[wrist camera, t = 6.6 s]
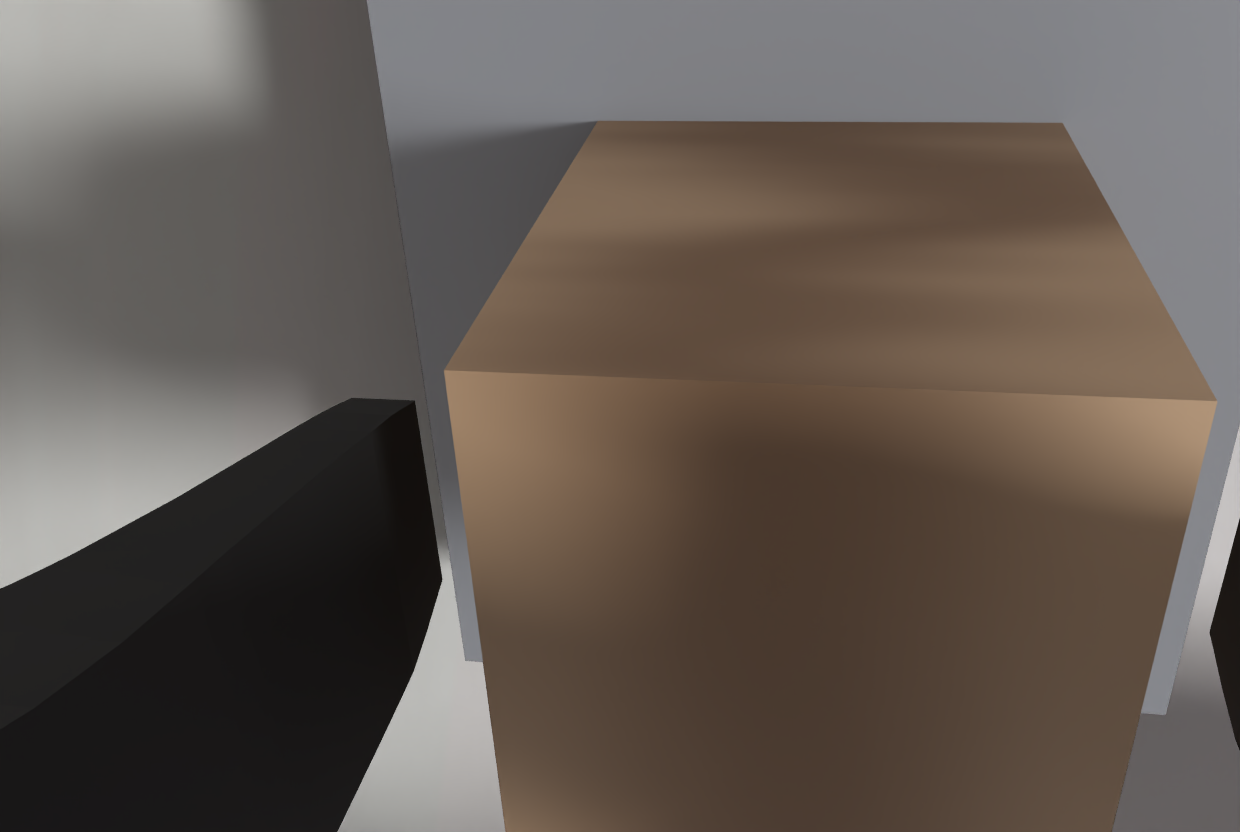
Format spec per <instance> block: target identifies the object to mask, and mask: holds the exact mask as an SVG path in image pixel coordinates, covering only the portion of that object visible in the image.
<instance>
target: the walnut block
mask: <svg viewBox="0 0 1240 832" xmlns="http://www.w3.org/2000/svg"><path fill="white" fill-rule="evenodd" d="M444 375H445V382H446V389H447V397H448V404H449V412H450V419H451V427H452V434H453V442H454V449H455V457H456V464H457V472H458V479H459V487H460V494H461V502H462V509H463V517H464V524H465V532H466V539H467V547H468V554H469V561H470V569H471V576H472V584H473V591H474V599H475V606H476V614H477V621H478V629H479V636H480V644H481V651H482V659H483V666H484V674H485V681H486V689H487V696H488V704H489V711H490V719H491V726H492V733H493V741H494V748H495V756H496V763H497V771H498V778H499V786H500V793H501V801H502V808H503V816H504V823H505V831H506V832H1112V828H1113V824H1114V820H1115V816H1116V812H1117V808H1118V804H1119V800H1120V795H1121V791H1122V787H1123V783H1124V779H1125V775H1126V771H1127V767H1128V763H1129V759H1130V755H1131V751H1132V747H1133V743H1134V739H1135V735H1136V730H1137V726H1138V722H1139V718H1140V714H1141V710H1142V706H1143V702H1144V698H1145V694H1146V690H1147V686H1148V682H1149V678H1150V674H1151V670H1152V665H1153V661H1154V657H1155V653H1156V649H1157V645H1158V641H1159V637H1160V633H1161V629H1162V625H1163V621H1164V617H1165V613H1166V609H1167V605H1168V600H1169V596H1170V592H1171V588H1172V584H1173V580H1174V576H1175V572H1176V568H1177V564H1178V560H1179V556H1180V552H1181V548H1182V544H1183V539H1184V535H1185V531H1186V527H1187V523H1188V519H1189V515H1190V511H1191V507H1192V503H1193V499H1194V495H1195V491H1196V487H1197V483H1198V479H1199V474H1200V470H1201V466H1202V462H1203V458H1204V454H1205V450H1206V446H1207V442H1208V438H1209V434H1210V430H1211V426H1212V422H1213V418H1214V414H1215V409H1216V405H1217V399H1216V398H1215V396H1214V394H1213V392H1212V390H1211V389H1210V387H1209V385H1208V383H1207V381H1206V380H1205V378H1204V376H1203V374H1202V373H1201V371H1200V369H1199V367H1198V365H1197V364H1196V362H1195V360H1194V358H1193V356H1192V355H1191V353H1190V351H1189V349H1188V347H1187V346H1186V344H1185V342H1184V340H1183V338H1182V337H1181V335H1180V333H1179V331H1178V329H1177V328H1176V326H1175V324H1174V322H1173V320H1172V319H1171V317H1170V315H1169V313H1168V311H1167V310H1166V308H1165V306H1164V304H1163V302H1162V301H1161V299H1160V297H1159V295H1158V293H1157V292H1156V290H1155V288H1154V286H1153V284H1152V283H1151V281H1150V279H1149V277H1148V275H1147V274H1146V272H1145V270H1144V268H1143V266H1142V265H1141V263H1140V261H1139V259H1138V257H1137V256H1136V254H1135V252H1134V250H1133V248H1132V247H1131V245H1130V243H1129V241H1128V239H1127V238H1126V236H1125V234H1124V232H1123V230H1122V229H1121V227H1120V225H1119V223H1118V221H1117V220H1116V218H1115V216H1114V214H1113V212H1112V211H1111V209H1110V207H1109V205H1108V204H1107V202H1106V200H1105V198H1104V196H1103V195H1102V193H1101V191H1100V189H1099V187H1098V186H1097V184H1096V182H1095V180H1094V178H1093V177H1092V175H1091V173H1090V171H1089V169H1088V168H1087V166H1086V164H1085V162H1084V160H1083V159H1082V157H1081V155H1080V153H1079V151H1078V150H1077V148H1076V146H1075V144H1074V142H1073V141H1072V139H1071V137H1070V135H1069V133H1068V132H1067V130H1066V128H1065V126H1064V124H1063V123H1004V122H773V121H598V122H597V123H596V125H595V126H594V128H593V130H592V131H591V133H590V135H589V136H588V138H587V139H586V141H585V143H584V144H583V146H582V147H581V149H580V151H579V152H578V154H577V156H576V157H575V159H574V160H573V162H572V164H571V165H570V167H569V169H568V170H567V172H566V173H565V175H564V177H563V178H562V180H561V181H560V183H559V185H558V186H557V188H556V190H555V191H554V193H553V194H552V196H551V198H550V199H549V201H548V203H547V204H546V206H545V207H544V209H543V211H542V212H541V214H540V215H539V217H538V219H537V220H536V222H535V224H534V225H533V227H532V228H531V230H530V232H529V233H528V235H527V237H526V238H525V240H524V241H523V243H522V245H521V246H520V248H519V250H518V251H517V253H516V254H515V256H514V258H513V259H512V261H511V262H510V264H509V266H508V267H507V269H506V271H505V272H504V274H503V275H502V277H501V279H500V280H499V282H498V284H497V285H496V287H495V288H494V290H493V292H492V293H491V295H490V296H489V298H488V300H487V301H486V303H485V305H484V306H483V308H482V309H481V311H480V313H479V314H478V316H477V318H476V319H475V321H474V322H473V324H472V326H471V327H470V329H469V330H468V332H467V334H466V335H465V337H464V339H463V340H462V342H461V343H460V345H459V347H458V348H457V350H456V352H455V353H454V355H453V356H452V358H451V360H450V361H449V363H448V365H447V366H446V368H445V369H444Z"/></svg>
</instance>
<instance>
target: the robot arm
mask: <svg viewBox="0 0 1240 832" xmlns="http://www.w3.org/2000/svg"><path fill="white" fill-rule="evenodd" d="M441 582H442V574H441V567H440V561H439V554H438V548H437V541H436V535H435V528H434V522H433V516H432V509H431V503H430V496H429V490H428V483H427V477H426V470H425V464H424V457H423V451H422V444H421V438H420V431H419V425H418V418H417V412H416V405H415V401H410V400H386V399H363V398H351V399H349V400H347V401H345V402H342V403H340V404H338V405H336V406H334V407H332V408H330V409H328V410H326V411H324V412H322V413H320V414H318V415H317V416H315V417H313V418H311V419H309V420H308V421H306V422H304V423H302V424H301V425H299V426H297V427H295V428H294V429H292V430H290V431H289V432H287V433H285V434H284V435H282V436H280V437H278V438H277V439H275V440H273V441H272V442H270V443H268V444H267V445H265V446H263V447H262V448H260V449H258V450H257V451H255V452H253V453H252V454H250V455H248V456H247V457H245V458H243V459H241V460H240V461H238V462H236V463H235V464H233V465H231V466H230V467H228V468H226V469H225V470H223V471H221V472H220V473H218V474H216V475H214V476H213V477H211V478H209V479H208V480H206V481H204V482H203V483H201V484H199V485H198V486H196V487H194V488H192V489H191V490H189V491H187V492H186V493H184V494H182V495H181V496H179V497H177V498H175V499H174V500H172V501H170V502H168V503H166V504H164V505H163V506H161V507H159V508H157V509H155V510H153V511H151V512H150V513H148V514H146V515H144V516H142V517H140V518H139V519H137V520H135V521H133V522H131V523H129V524H127V525H126V526H124V527H122V528H120V529H118V530H116V531H115V532H113V533H111V534H109V535H107V536H105V537H104V538H102V539H100V540H98V541H96V542H94V543H92V544H91V545H89V546H87V547H85V548H83V549H81V550H80V551H78V552H76V553H74V554H72V555H70V556H68V557H66V558H64V559H62V560H60V561H58V562H56V563H54V564H52V565H50V566H48V567H46V568H44V569H42V570H40V571H37V572H35V573H33V574H31V575H29V576H27V577H25V578H23V579H21V580H19V581H17V582H14V583H12V584H10V585H8V586H5V587H3V588H1V589H0V832H337V831H338V829H339V827H340V825H341V823H342V821H343V819H344V817H345V815H346V813H347V810H348V808H349V806H350V804H351V802H352V800H353V798H354V796H355V794H356V792H357V790H358V788H359V786H360V784H361V782H362V779H363V777H364V775H365V773H366V771H367V769H368V767H369V765H370V763H371V761H372V759H373V757H374V755H375V753H376V751H377V748H378V746H379V744H380V742H381V740H382V738H383V736H384V734H385V732H386V729H387V727H388V725H389V723H390V721H391V719H392V717H393V715H394V713H395V710H396V708H397V706H398V704H399V702H400V700H401V698H402V696H403V693H404V691H405V689H406V687H407V685H408V682H409V680H410V678H411V676H412V674H413V672H414V669H415V666H416V663H417V660H418V657H419V654H420V651H421V648H422V645H423V642H424V639H425V636H426V633H427V629H428V626H429V623H430V619H431V616H432V613H433V609H434V606H435V603H436V599H437V596H438V592H439V589H440V586H441ZM1210 636H1211V640H1212V645H1213V649H1214V654H1215V658H1216V663H1217V667H1218V672H1219V676H1220V680H1221V685H1222V689H1223V693H1224V697H1225V701H1226V705H1227V709H1228V713H1229V716H1230V720H1231V724H1232V728H1233V732H1234V736H1235V739H1236V742H1237V744H1238V747H1239V750H1240V519H1239V523H1238V527H1237V531H1236V535H1235V538H1234V542H1233V546H1232V550H1231V553H1230V557H1229V561H1228V565H1227V568H1226V572H1225V576H1224V580H1223V583H1222V587H1221V591H1220V595H1219V599H1218V602H1217V606H1216V610H1215V614H1214V617H1213V621H1212V625H1211V629H1210Z"/></svg>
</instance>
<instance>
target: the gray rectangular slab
mask: <svg viewBox="0 0 1240 832" xmlns="http://www.w3.org/2000/svg"><path fill="white" fill-rule="evenodd" d="M367 6H368V13H369V19H370V26H371V33H372V39H373V46H374V53H375V59H376V66H377V73H378V79H379V86H380V93H381V100H382V106H383V113H384V120H385V126H386V133H387V140H388V146H389V153H390V160H391V166H392V173H393V180H394V187H395V193H396V200H397V207H398V213H399V220H400V227H401V233H402V240H403V247H404V253H405V260H406V267H407V274H408V280H409V287H410V294H411V300H412V307H413V314H414V320H415V327H416V334H417V341H418V347H419V354H420V361H421V367H422V374H423V381H424V387H425V394H426V401H427V407H428V414H429V421H430V428H431V434H432V441H433V448H434V454H435V461H436V468H437V474H438V481H439V488H440V494H441V501H442V508H443V515H444V521H445V528H446V535H447V541H448V548H449V555H450V561H451V568H452V575H453V581H454V588H455V595H456V602H457V608H458V615H459V622H460V628H461V635H462V642H463V648H464V655H465V661H475V662H483V659H482V651H481V644H480V636H479V629H478V621H477V614H476V606H475V599H474V591H473V584H472V576H471V569H470V561H469V554H468V547H467V539H466V532H465V524H464V517H463V509H462V502H461V494H460V487H459V479H458V472H457V464H456V457H455V449H454V442H453V434H452V427H451V419H450V412H449V404H448V397H447V389H446V382H445V375H444V369H445V368H446V366H447V365H448V363H449V361H450V360H451V358H452V356H453V355H454V353H455V352H456V350H457V348H458V347H459V345H460V343H461V342H462V340H463V339H464V337H465V335H466V334H467V332H468V330H469V329H470V327H471V326H472V324H473V322H474V321H475V319H476V318H477V316H478V314H479V313H480V311H481V309H482V308H483V306H484V305H485V303H486V301H487V300H488V298H489V296H490V295H491V293H492V292H493V290H494V288H495V287H496V285H497V284H498V282H499V280H500V279H501V277H502V275H503V274H504V272H505V271H506V269H507V267H508V266H509V264H510V262H511V261H512V259H513V258H514V256H515V254H516V253H517V251H518V250H519V248H520V246H521V245H522V243H523V241H524V240H525V238H526V237H527V235H528V233H529V232H530V230H531V228H532V227H533V225H534V224H535V222H536V220H537V219H538V217H539V215H540V214H541V212H542V211H543V209H544V207H545V206H546V204H547V203H548V201H549V199H550V198H551V196H552V194H553V193H554V191H555V190H556V188H557V186H558V185H559V183H560V181H561V180H562V178H563V177H564V175H565V173H566V172H567V170H568V169H569V167H570V165H571V164H572V162H573V160H574V159H575V157H576V156H577V154H578V152H579V151H580V149H581V147H582V146H583V144H584V143H585V141H586V139H587V138H588V136H589V135H590V133H591V131H592V130H593V128H594V126H595V125H596V123H597V122H598V121H773V122H1004V123H1063V124H1064V126H1065V128H1066V130H1067V132H1068V133H1069V135H1070V137H1071V139H1072V141H1073V142H1074V144H1075V146H1076V148H1077V150H1078V151H1079V153H1080V155H1081V157H1082V159H1083V160H1084V162H1085V164H1086V166H1087V168H1088V169H1089V171H1090V173H1091V175H1092V177H1093V178H1094V180H1095V182H1096V184H1097V186H1098V187H1099V189H1100V191H1101V193H1102V195H1103V196H1104V198H1105V200H1106V202H1107V204H1108V205H1109V207H1110V209H1111V211H1112V212H1113V214H1114V216H1115V218H1116V220H1117V221H1118V223H1119V225H1120V227H1121V229H1122V230H1123V232H1124V234H1125V236H1126V238H1127V239H1128V241H1129V243H1130V245H1131V247H1132V248H1133V250H1134V252H1135V254H1136V256H1137V257H1138V259H1139V261H1140V263H1141V265H1142V266H1143V268H1144V270H1145V272H1146V274H1147V275H1148V277H1149V279H1150V281H1151V283H1152V284H1153V286H1154V288H1155V290H1156V292H1157V293H1158V295H1159V297H1160V299H1161V301H1162V302H1163V304H1164V306H1165V308H1166V310H1167V311H1168V313H1169V315H1170V317H1171V319H1172V320H1173V322H1174V324H1175V326H1176V328H1177V329H1178V331H1179V333H1180V335H1181V337H1182V338H1183V340H1184V342H1185V344H1186V346H1187V347H1188V349H1189V351H1190V353H1191V355H1192V356H1193V358H1194V360H1195V362H1196V364H1197V365H1198V367H1199V369H1200V371H1201V373H1202V374H1203V376H1204V378H1205V380H1206V381H1207V383H1208V385H1209V387H1210V389H1211V390H1212V392H1213V394H1214V396H1215V398H1216V399H1217V405H1216V409H1215V414H1214V418H1213V422H1212V426H1211V430H1210V434H1209V438H1208V442H1207V446H1206V450H1205V454H1204V458H1203V462H1202V466H1201V470H1200V474H1199V479H1198V483H1197V487H1196V491H1195V495H1194V499H1193V503H1192V507H1191V511H1190V515H1189V519H1188V523H1187V527H1186V531H1185V535H1184V539H1183V544H1182V548H1181V552H1180V556H1179V560H1178V564H1177V568H1176V572H1175V576H1174V580H1173V584H1172V588H1171V592H1170V596H1169V600H1168V605H1167V609H1166V613H1165V617H1164V621H1163V625H1162V629H1161V633H1160V637H1159V641H1158V645H1157V649H1156V653H1155V657H1154V661H1153V665H1152V670H1151V674H1150V678H1149V682H1148V686H1147V690H1146V694H1145V698H1144V702H1143V706H1142V710H1141V713H1144V714H1157V715H1166V712H1167V708H1168V704H1169V700H1170V696H1171V692H1172V688H1173V684H1174V680H1175V677H1176V673H1177V669H1178V665H1179V661H1180V657H1181V653H1182V649H1183V645H1184V641H1185V637H1186V633H1187V629H1188V625H1189V621H1190V618H1191V614H1192V610H1193V606H1194V602H1195V598H1196V594H1197V590H1198V586H1199V582H1200V578H1201V574H1202V570H1203V566H1204V562H1205V558H1206V555H1207V551H1208V547H1209V543H1210V539H1211V535H1212V531H1213V527H1214V523H1215V519H1216V515H1217V511H1218V507H1219V503H1220V499H1221V496H1222V492H1223V488H1224V484H1225V480H1226V476H1227V472H1228V468H1229V464H1230V460H1231V456H1232V452H1233V448H1234V444H1235V440H1236V437H1237V433H1238V429H1239V425H1240V0H367Z"/></svg>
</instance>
